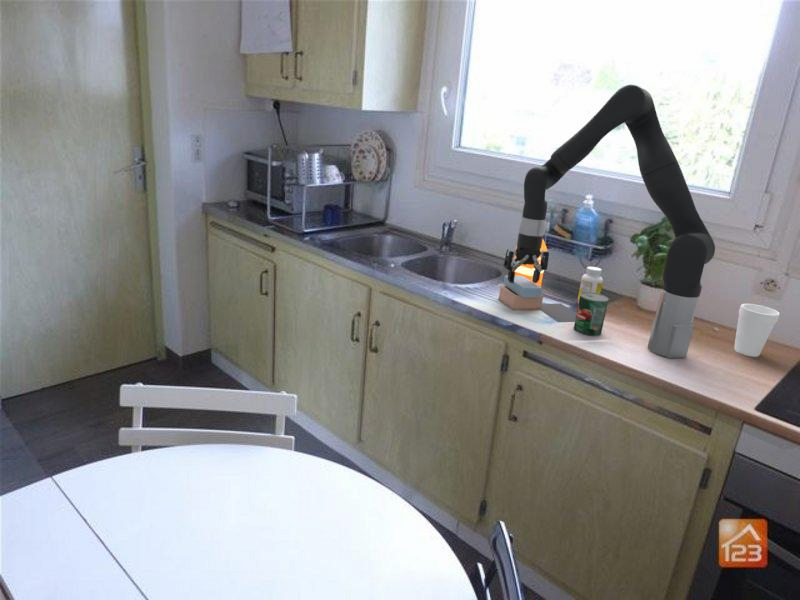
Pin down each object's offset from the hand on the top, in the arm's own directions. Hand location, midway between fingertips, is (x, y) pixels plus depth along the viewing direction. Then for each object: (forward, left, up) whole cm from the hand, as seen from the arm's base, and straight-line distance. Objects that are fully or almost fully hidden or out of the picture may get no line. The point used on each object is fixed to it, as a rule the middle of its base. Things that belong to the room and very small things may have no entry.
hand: (522, 282), depth 181 cm
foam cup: (-41, -51, -8) cm, 66 cm away
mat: (-8, -10, -8) cm, 15 cm away
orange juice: (+18, -12, -8) cm, 23 cm away
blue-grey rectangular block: (0, 0, -3) cm, 3 cm away
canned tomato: (-23, -10, -8) cm, 26 cm away
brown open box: (0, 0, -8) cm, 8 cm away
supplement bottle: (-1, -25, -8) cm, 26 cm away
